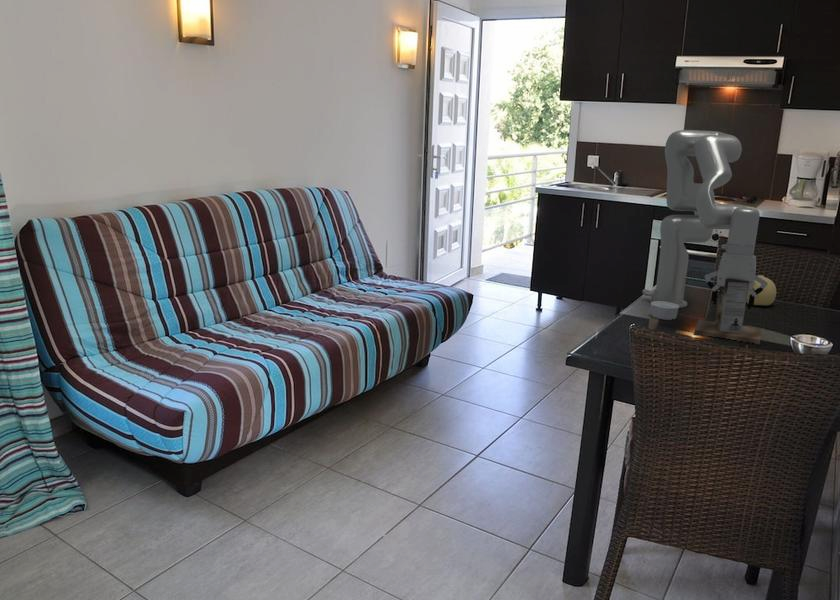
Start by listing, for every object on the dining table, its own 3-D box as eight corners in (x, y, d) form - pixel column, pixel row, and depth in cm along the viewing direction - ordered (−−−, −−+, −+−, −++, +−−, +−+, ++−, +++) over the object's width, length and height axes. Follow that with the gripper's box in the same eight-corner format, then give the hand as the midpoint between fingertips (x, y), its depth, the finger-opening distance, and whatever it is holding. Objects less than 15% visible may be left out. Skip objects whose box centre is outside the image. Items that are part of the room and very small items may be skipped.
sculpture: (741, 298, 259) (745, 270, 257) (776, 304, 253) (781, 275, 250) (734, 304, 250) (738, 275, 248) (770, 310, 244) (775, 280, 241)
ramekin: (678, 316, 231) (680, 303, 230) (676, 322, 223) (678, 309, 222) (651, 312, 235) (652, 299, 234) (647, 318, 227) (649, 305, 226)
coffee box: (713, 324, 216) (721, 273, 213) (735, 326, 215) (743, 275, 211) (719, 332, 208) (727, 279, 204) (742, 334, 206) (750, 281, 203)
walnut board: (693, 334, 209) (694, 329, 209) (698, 323, 222) (698, 319, 221) (759, 344, 202) (760, 339, 201) (760, 332, 214) (761, 328, 214)
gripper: (707, 248, 206) (700, 304, 210) (772, 255, 199) (763, 312, 203) (709, 245, 212) (702, 299, 216) (772, 251, 205) (763, 307, 209)
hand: (731, 305), depth 210 cm, fingers open, 9 cm apart
